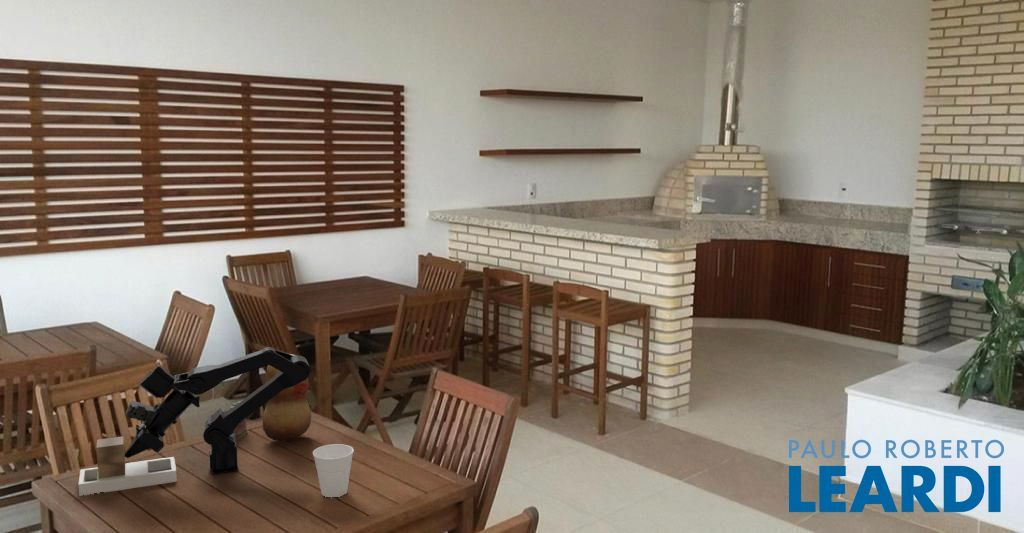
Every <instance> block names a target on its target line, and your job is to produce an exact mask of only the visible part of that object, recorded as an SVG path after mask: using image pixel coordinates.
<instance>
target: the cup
mask: <svg viewBox="0 0 1024 533" xmlns="http://www.w3.org/2000/svg"><path fill="white" fill-rule="evenodd" d="M354 453H355V450H354V447H353V446H351V445H347V444H342V443H334V444H333V443H332V444H330V443H329V444H325V445H322V446H319V447H317V448H315V449H314V450H312V456H313V459H314V462H315V468H316V472H317V477H318V482H319V487H320V493H321V496H323V497H324V496H325V498H326V497H331V498H330V499H333V498H332V497H339V498H341V497H340V496H342V495H344V494H345V495H346V494H347V492H348V487H349V480H350V474H351V467H352V461H353V454H354ZM345 495H344V496H345ZM342 497H343V496H342Z"/></svg>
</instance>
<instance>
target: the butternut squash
mask: <svg viewBox="0 0 1024 533" xmlns="http://www.w3.org/2000/svg"><path fill="white" fill-rule="evenodd" d="M289 354H290V355H292V356H295V355H296V354H294V353H293V354H291V353H289ZM278 371H279V370H277V369H275V368H274V367H272V366H269V365H267V368H266V374H265V383H266V382H268V381H269V380H270V379H272V378H273V377H274V376H275V375H276V374H277V372H278ZM308 390H309V377H308V378H307V379H306V380H305V381H303V382H301V383H299V384H297V385H295V386H293V387H290V388H287V389H284V390H282V391H281V392H280V393H278V394H277V395H276V396H274V397H273V398H272V399H271V400H269V401H268V402H267V403H266V406H265V409H264V412H263V415H262V430H263V431H264V433H265V435H266V436H267V437H268V438H269V439H271V440H272V441H278V442H293V441H295V440H297V439H298V438H299V437H301V436H302V435H304V434H305V433H306V432H307V431H308V430H309V429H310V426H311V422H312V413H311V408H310V406H309V405H310V404H309V402H308V400H307V393H308Z"/></svg>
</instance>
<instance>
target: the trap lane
mask: <svg viewBox="0 0 1024 533" xmlns="http://www.w3.org/2000/svg"><path fill="white" fill-rule="evenodd" d="M177 480H178V479H177V467H176V459H175V456H171V457H163V458H155V459H148V460H141V461H134V462H133V461H132V462H127V463H126V462H125V475H121V476H114V477H107V478H100V479H99V478H98V466H97V467H90V468H83V469H80V471H79V479H78V483H77V484H78V495H79V496H78V497H83V495H84V496H90V494H91V495H95V494H94V493H97V494H101V493H100V492H104V493H110V492H118V491H123V490H130V489H134V488H135V489H136V488H142V487H150V486H157V485H162V484H163V485H164V484H169V483H177Z"/></svg>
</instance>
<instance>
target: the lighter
mask: <svg viewBox="0 0 1024 533" xmlns="http://www.w3.org/2000/svg"><path fill="white" fill-rule="evenodd" d="M241 401H242V400H239V401H238V402H236V403H232V404H231V406H230V407H229V410H230V409H232V408H233V407H234V406H236V405H237V404H238V403H240V402H241ZM233 432H235V441H237V440H240V439H241V438H243V437H244V436H246V435H247V434H248V429H247V418H245V419H244V420H243V421H241V422H240V423H239V424H238V426H237V427H236V428H235V430H234V431H233ZM246 433H247V434H246ZM245 434H246V435H245Z"/></svg>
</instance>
